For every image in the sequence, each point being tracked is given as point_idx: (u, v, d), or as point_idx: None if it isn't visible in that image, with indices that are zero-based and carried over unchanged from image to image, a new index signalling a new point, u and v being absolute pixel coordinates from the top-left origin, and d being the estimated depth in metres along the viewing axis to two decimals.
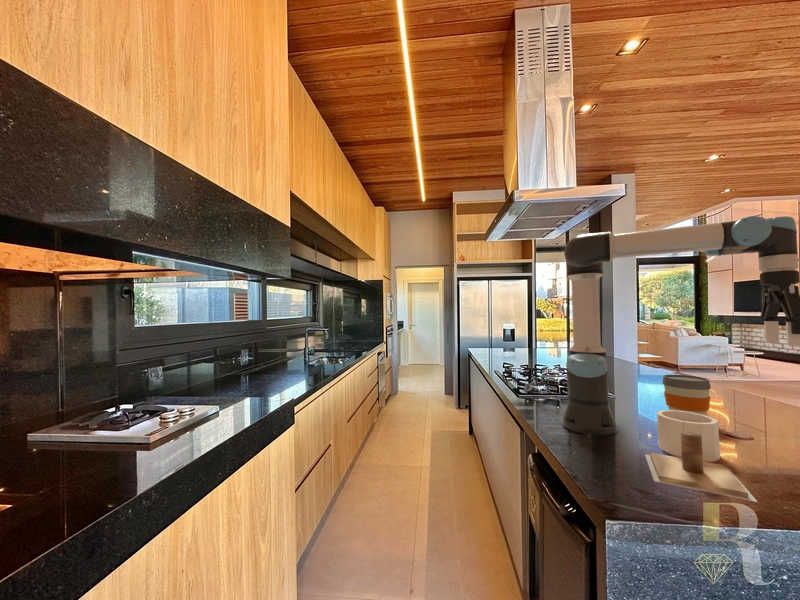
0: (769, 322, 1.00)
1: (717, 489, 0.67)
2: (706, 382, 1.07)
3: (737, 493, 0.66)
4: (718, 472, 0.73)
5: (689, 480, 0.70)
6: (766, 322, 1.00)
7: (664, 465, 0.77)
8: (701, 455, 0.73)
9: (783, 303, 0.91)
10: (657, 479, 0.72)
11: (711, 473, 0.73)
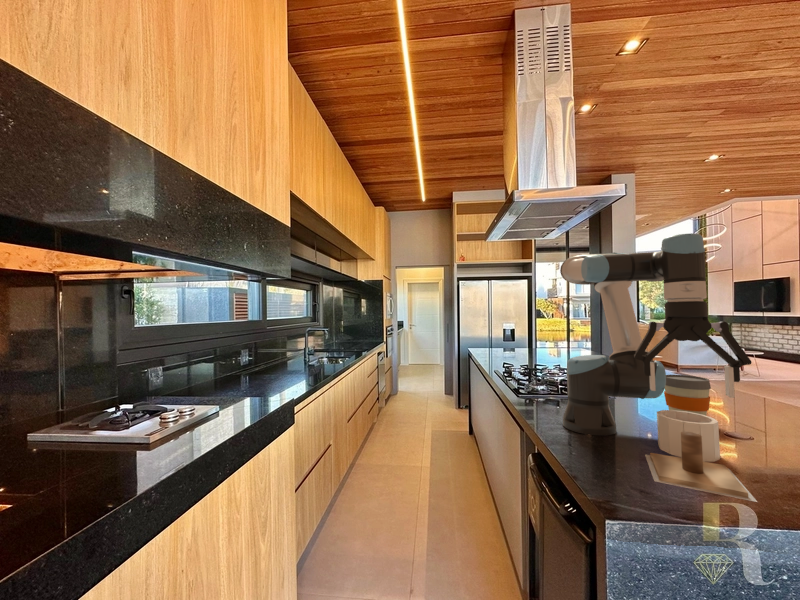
0: (725, 367, 0.73)
1: (717, 489, 0.67)
2: (706, 382, 1.07)
3: (737, 493, 0.66)
4: (718, 472, 0.73)
5: (689, 480, 0.70)
6: (724, 367, 0.73)
7: (664, 465, 0.77)
8: (701, 455, 0.73)
9: (660, 341, 0.79)
10: (657, 479, 0.72)
11: (711, 473, 0.73)
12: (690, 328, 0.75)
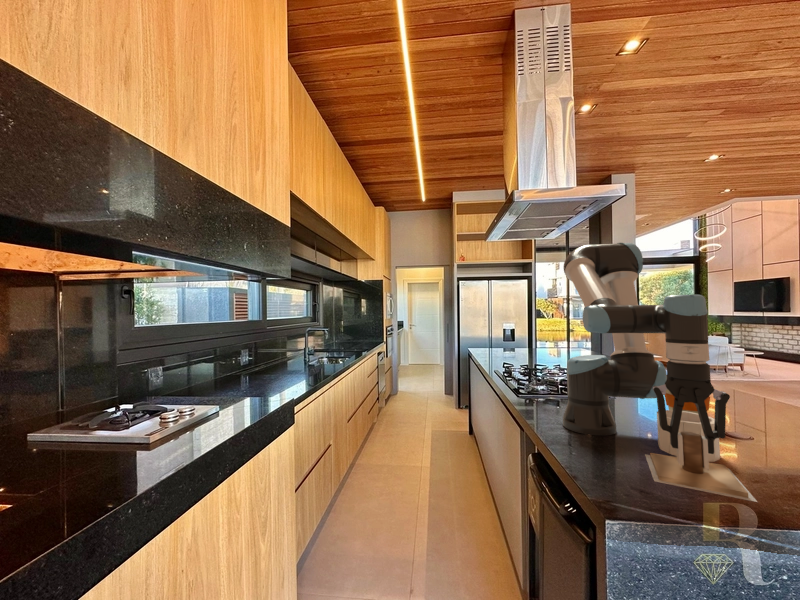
0: None
1: (717, 489, 0.67)
2: None
3: (737, 493, 0.66)
4: (718, 472, 0.73)
5: (689, 480, 0.70)
6: None
7: (664, 465, 0.77)
8: (701, 455, 0.73)
9: None
10: (657, 479, 0.72)
11: (711, 473, 0.73)
12: (693, 388, 0.74)
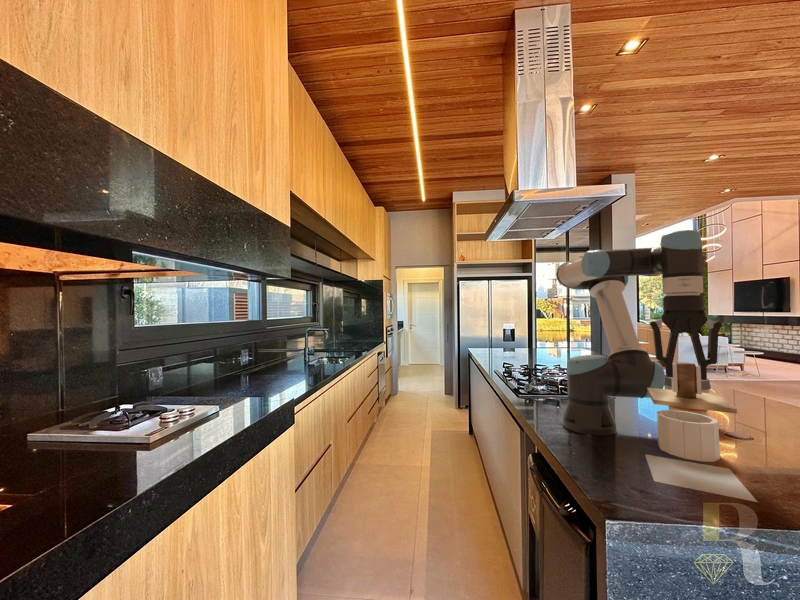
0: None
1: (708, 408, 0.71)
2: (706, 382, 1.07)
3: (726, 410, 0.70)
4: (710, 398, 0.77)
5: (682, 402, 0.74)
6: None
7: (659, 394, 0.81)
8: (694, 381, 0.77)
9: (669, 338, 0.81)
10: (657, 479, 0.72)
11: (704, 398, 0.77)
12: (687, 319, 0.78)
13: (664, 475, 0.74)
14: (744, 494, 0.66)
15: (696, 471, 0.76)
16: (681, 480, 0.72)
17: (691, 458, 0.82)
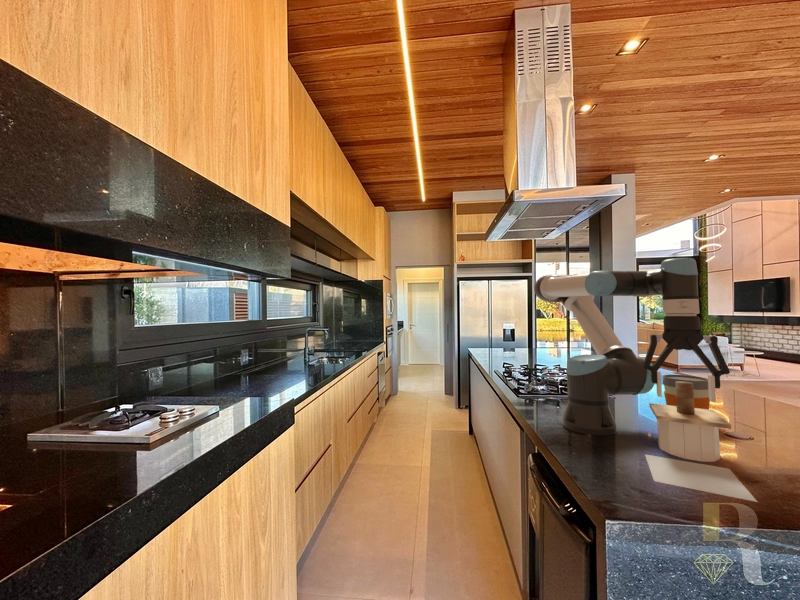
0: (708, 376, 0.86)
1: (705, 423, 0.80)
2: (706, 382, 1.07)
3: (722, 425, 0.79)
4: (707, 413, 0.86)
5: (682, 418, 0.83)
6: (708, 375, 0.86)
7: (661, 410, 0.90)
8: (692, 399, 0.86)
9: None
10: (657, 479, 0.72)
11: (701, 414, 0.86)
12: (685, 338, 0.87)
13: (664, 475, 0.74)
14: (744, 494, 0.66)
15: (696, 471, 0.76)
16: (681, 480, 0.72)
17: (691, 458, 0.82)
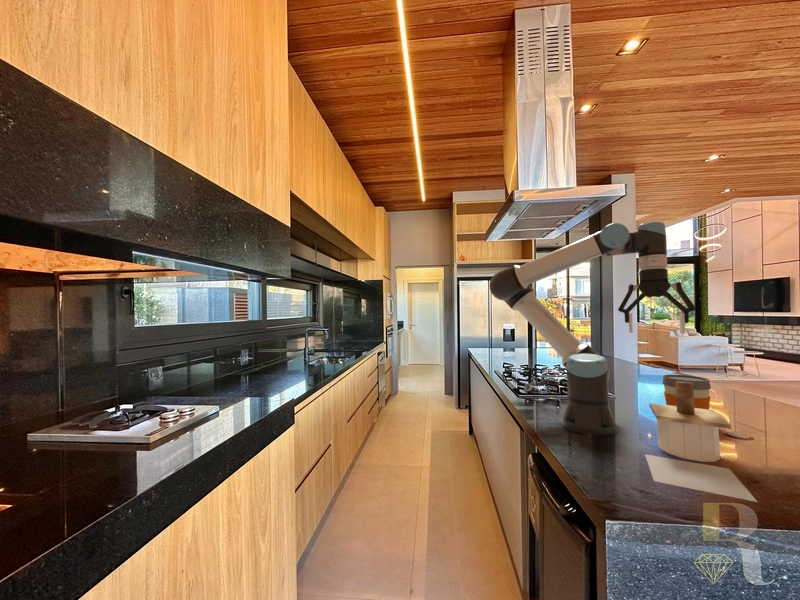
0: (679, 314, 1.05)
1: (705, 423, 0.80)
2: (706, 382, 1.07)
3: (722, 425, 0.79)
4: (707, 413, 0.86)
5: (682, 418, 0.83)
6: (679, 314, 1.06)
7: (661, 410, 0.90)
8: (692, 399, 0.86)
9: (636, 298, 1.12)
10: (657, 479, 0.72)
11: (701, 414, 0.86)
12: (656, 287, 1.08)
13: (664, 475, 0.74)
14: (744, 494, 0.66)
15: (696, 471, 0.76)
16: (681, 480, 0.72)
17: (691, 458, 0.82)
